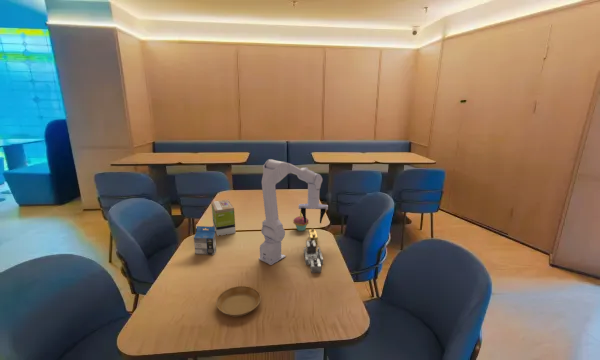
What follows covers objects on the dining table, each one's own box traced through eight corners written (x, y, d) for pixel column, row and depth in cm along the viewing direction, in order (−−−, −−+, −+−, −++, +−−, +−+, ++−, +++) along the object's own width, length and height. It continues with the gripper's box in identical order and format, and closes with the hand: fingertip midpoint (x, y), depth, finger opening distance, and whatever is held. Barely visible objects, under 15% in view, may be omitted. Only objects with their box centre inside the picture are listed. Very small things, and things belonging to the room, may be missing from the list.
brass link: (317, 244, 139) (317, 235, 138) (310, 244, 139) (310, 235, 137) (315, 236, 147) (315, 228, 146) (308, 236, 147) (309, 228, 146)
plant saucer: (242, 286, 106) (242, 280, 105) (269, 303, 97) (269, 297, 96) (207, 307, 95) (207, 300, 94) (235, 328, 86) (235, 321, 85)
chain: (325, 272, 115) (325, 264, 114) (307, 273, 115) (307, 265, 114) (317, 245, 137) (318, 239, 136) (302, 246, 137) (302, 239, 136)
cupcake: (308, 232, 152) (308, 211, 149) (292, 232, 152) (293, 211, 149) (308, 226, 160) (308, 206, 157) (293, 225, 161) (293, 205, 158)
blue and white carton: (194, 254, 128) (192, 229, 125) (198, 250, 132) (195, 226, 129) (214, 255, 128) (212, 230, 125) (216, 250, 132) (215, 226, 128)
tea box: (212, 225, 159) (210, 201, 156) (230, 223, 163) (229, 198, 160) (216, 236, 146) (215, 209, 142) (236, 233, 150) (234, 207, 147)
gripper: (327, 194, 142) (326, 219, 145) (299, 193, 142) (298, 218, 146) (328, 199, 135) (327, 225, 138) (298, 198, 136) (298, 224, 139)
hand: (312, 222), depth 142 cm, fingers open, 7 cm apart
